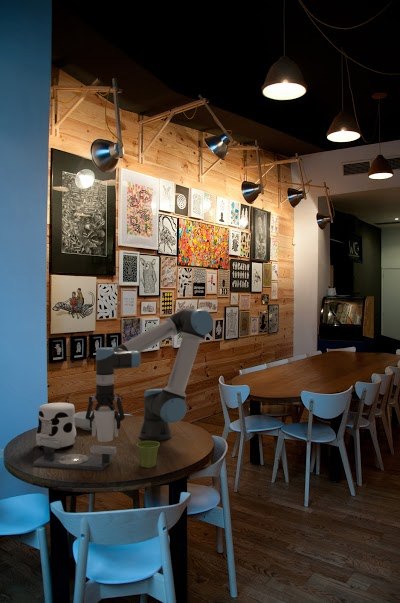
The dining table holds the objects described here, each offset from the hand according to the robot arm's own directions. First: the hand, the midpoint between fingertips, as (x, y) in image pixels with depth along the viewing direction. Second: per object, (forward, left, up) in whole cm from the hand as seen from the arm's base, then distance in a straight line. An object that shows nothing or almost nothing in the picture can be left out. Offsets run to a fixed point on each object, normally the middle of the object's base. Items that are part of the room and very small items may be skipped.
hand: (105, 435), depth 211 cm
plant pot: (-22, +11, -8) cm, 26 cm away
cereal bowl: (+20, -38, -8) cm, 44 cm away
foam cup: (0, 0, -2) cm, 2 cm away
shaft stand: (+8, +14, -8) cm, 18 cm away
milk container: (+24, -6, -8) cm, 26 cm away
